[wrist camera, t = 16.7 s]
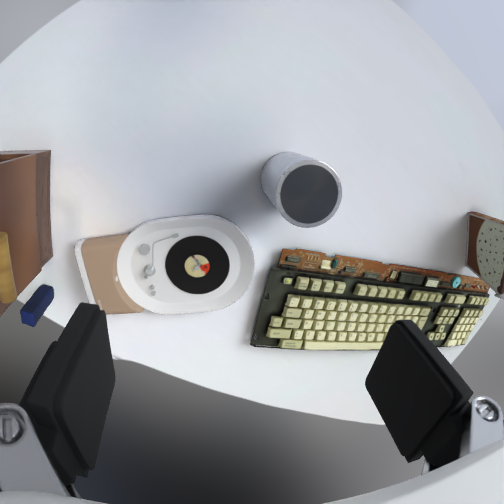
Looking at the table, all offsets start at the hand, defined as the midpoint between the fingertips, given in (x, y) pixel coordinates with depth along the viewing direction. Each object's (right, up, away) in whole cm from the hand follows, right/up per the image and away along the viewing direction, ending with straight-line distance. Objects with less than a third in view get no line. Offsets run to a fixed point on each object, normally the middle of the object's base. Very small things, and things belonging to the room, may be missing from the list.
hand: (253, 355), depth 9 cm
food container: (+37, +6, +31) cm, 48 cm away
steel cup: (+4, +11, +24) cm, 27 cm away
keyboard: (+23, -5, +34) cm, 41 cm away
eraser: (-27, -2, +25) cm, 37 cm away
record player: (-10, +2, +26) cm, 28 cm away
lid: (-23, +5, +11) cm, 26 cm away
